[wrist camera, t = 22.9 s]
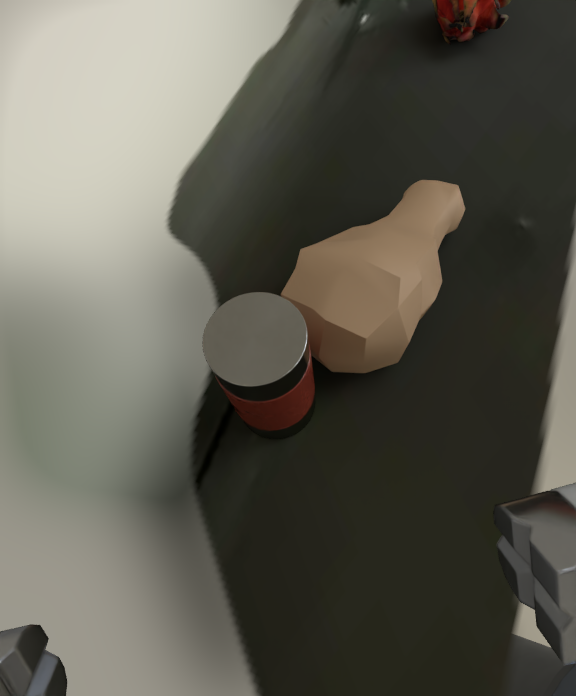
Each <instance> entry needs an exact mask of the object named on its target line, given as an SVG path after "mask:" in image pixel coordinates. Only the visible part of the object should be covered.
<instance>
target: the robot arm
mask: <svg viewBox="0 0 576 696" xmlns="http://www.w3.org/2000/svg"><path fill="white" fill-rule="evenodd" d="M493 514H494V524H495V525H496V527H497V528H498V529H499V531H500V532H501V533H502V534H503V535H502V536H501V538H500V540H499V541H498V543H497V549H498V556H499V561H500V564H501V566H502V569H503V572H504V575H505V577H506V579H507V581H508V583H509V585H510V587H511V589H512V590H513V592H514V593H515V595H516V596H517V598H518V599H519V601H520V602H521V603H523V604H525V605H527V606H529V607H530V608H532V609H534V610H535V614H536V624H537V627H538V629H539V630H540V632H541V633H542V634H543V636H544V637H545V639H546V640H547V642H548V643H549V644H550V646H551V647H552V649H553V650H554V652H555V653H556V655H557V656H558V658H559V659H560V660H561V662H562V663H563V665H567V664H572V663H576V483H573V484H569V485H566V486H562V487H559V488H555V489H551V490H550V491H546V492H541V493H538V494H534V495H530V496H526V497H523V498H519V499H515V500H511V501H508V502H504V503H500V504H496V505H495V507H494V511H493ZM47 643H48V637H47V636H46V634H45V632H44V630H43V629H42V627H41V626H40V625H27V626H22V627H18V628H14V629H9V630H5V631H1V632H0V696H66V689H67V678H66V673H65V668H64V666H63V664H62V662H61V660H60V658H59V657H57V656H56V655H54V654H52V653H50V652H48V651H46V650H45V649H46V646H47Z"/></svg>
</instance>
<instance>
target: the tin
mask: <svg viewBox="0 0 576 696" xmlns="http://www.w3.org/2000/svg"><path fill="white" fill-rule="evenodd" d="M203 352H204V356H205V359H206V361H207V363H208V365H209V366H210V368H211V370H212V371H213V373H214V374H215V376H216V379H217V381H218V382H219V384H220V386H221V387H222V389H223V390H224V392H225V394H226V395H227V397H228V398H229V400H230V402H231V403H232V405H233V406H234V408H235V410H236V411H237V413H238V414H239V415H240V417H241V418H242V419H243V421H244V423H245V424H246V425H247V427H248V428H249V429H250V430H251V431H253V432H254V433H256V434H257V435H259V436H262V437H264V438H269V439H282V438H287V437H290V436H292V435H294V434H296V433H298V432H299V431H301V430H302V429H303V428H304V427H305V426H306V425H307V424H308V422H309V421H310V419H311V417H312V415H313V413H314V409H315V385H314V376H313V367H312V359H311V350H310V345H309V340H308V332H307V326H306V323H305V320H304V318H303V316H302V314H301V313H300V311H299V310H298V309H297V308H296V307H295V306H294V305H293V304H292V303H291V302H290V301H288V300H286V299H285V298H283V297H281V296H278V295H275V294H272V293H266V292H253V293H247V294H243V295H240V296H237V297H235V298H233V299H231V300H229V301H227V302H226V303H224V304H223V305H222V306H221V307H219V308H218V309H217V310H216V311H215V312H214V314H213V315H212V316H211V318H210V319H209V321H208V323H207V325H206V328H205V330H204V335H203Z"/></svg>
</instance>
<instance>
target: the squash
mask: <svg viewBox="0 0 576 696" xmlns="http://www.w3.org/2000/svg"><path fill="white" fill-rule="evenodd" d="M464 211H465V207H464V203H463V199H462V196H461V192H460V190H459V187H458V185H454V184H450V183H445V182H441V181H435V180H420V181H418V182H416V183H414V184H413V185H411V186H410V187H409V188H408V189H407V190H406V191H405V192H404V195H403V198H402V200H401V202H400V203H399V204H398V205H397V206H396V207H395V209H394V210H393V211H392V212H391V213H390V214H389V215H388V216H387V217H384V218H382V219H380V220H378V221H376V222H374V223H372V224H369V225H363V226H358V227H353V228H350V229H348V230H346V231H344V232H341V233H339V234H337V235H335V236H333V237H330V238H328V239H326V240H324V241H321V242H319V243H317V244H314V245H311V246H308V247H306V248H303V249H301V250H300V254H299V257H298V261H297V265H296V269H295V270H294V272H293V274H292V276H291V277H290V279H289V281H288V282H287V284H286V286H285V288H284V289H283V291H282V293H281V297H283V298H285V299H286V300H288V301H290V302H291V303H292V304H293V305H294V306H295V307H296V308H297V309H298V310H299V311H300V313H301V314H302V316H303V318H304V320H305V323H306V326H307V332H308V340H309V345H310V350H311V355H312V356H313V357H314V358H315V359H317V360H318V361H319V362H320V363H322V364H323V365H324V366H325V367H327V368H328V369H329V370H330V371H332V372H348V373H367V372H370V371H373V370H376V369H380V368H383V367H386V366H389V365H392V364H395V363H398V362H399V360H400V358H401V356H402V355H403V353H404V351H405V349H406V347H407V346H408V344H409V342H410V340H411V337H412V335H413V333H414V331H415V328H416V326H417V324H418V321H419V319H421V318H422V317H423V316H424V314H425V313H426V312H427V310H428V309H429V307H430V306H431V305H432V303H433V302H434V301H435V299H436V297H437V294H438V291H439V289H440V286H441V284H442V276H441V270H440V264H439V257H438V249H439V246H440V244H441V241H442V240H443V238H444V236H445V235H446V234H448V233H449V232H451V231H453V230H455V229H457V227H458V225H459V222H460V220H461V218H462V216H463V213H464Z"/></svg>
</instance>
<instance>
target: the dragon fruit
mask: <svg viewBox="0 0 576 696" xmlns="http://www.w3.org/2000/svg"><path fill="white" fill-rule="evenodd" d="M432 1H433V4H434V9H435V15H436V19H437V20H438V22H439V24H440V25H441V28H442V30H443V34H442V35H443V37H444V39H445V41H446V42H447V43H449V44H450V42H451V40H453V39H457V40H458V41H459V42H463V41H464V42H465V40H466V41H469V40H470V39H471V38H473V36H474V35H475V33H474V34H473V33H472V32H473V29H475V30H476V31H477V32H478V33H483V32H485V31H487V30H488V29H498V28H500V27H501V26H502V25H503V24H504V23H505V22H506V21H507V19H508V17H509V16H507V15H506V14H505V15H500V14H499V13H498V12H497V10H496V8H497V9H498V10H499V8H502V7H505V6H506V5H508V4H509V3H510V1H511V0H432Z"/></svg>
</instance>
